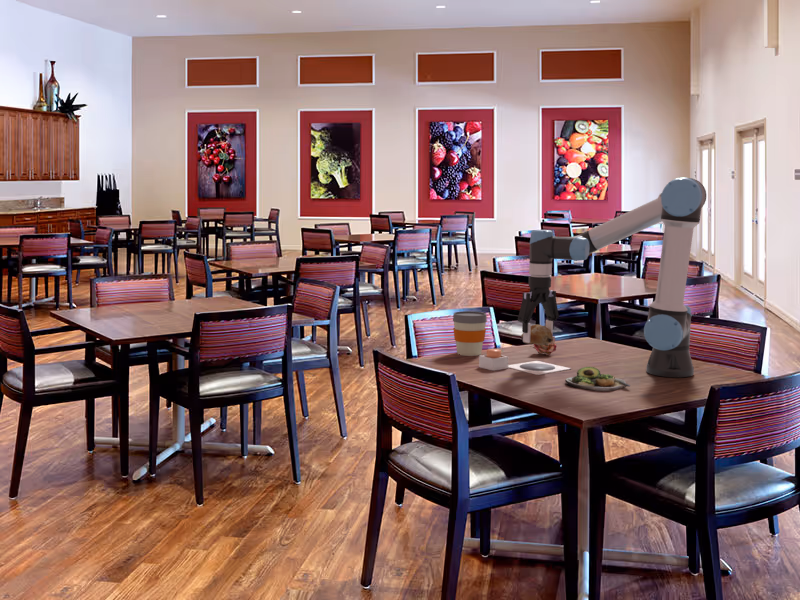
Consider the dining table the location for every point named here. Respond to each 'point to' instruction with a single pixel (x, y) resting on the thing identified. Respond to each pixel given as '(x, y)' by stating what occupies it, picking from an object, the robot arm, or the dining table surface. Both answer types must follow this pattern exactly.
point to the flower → (546, 347)
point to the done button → (493, 353)
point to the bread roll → (540, 335)
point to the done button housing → (493, 362)
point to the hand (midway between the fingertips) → (537, 340)
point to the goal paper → (537, 367)
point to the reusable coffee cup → (469, 332)
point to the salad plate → (595, 380)
